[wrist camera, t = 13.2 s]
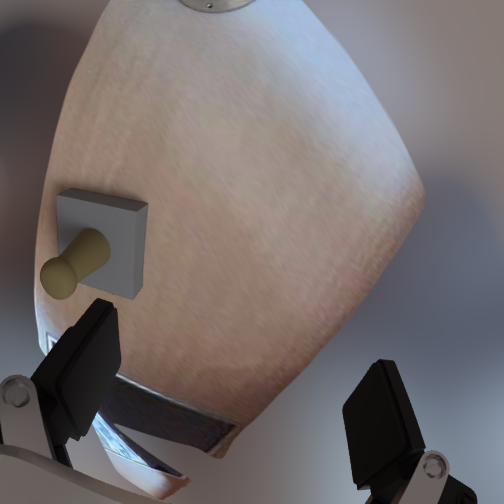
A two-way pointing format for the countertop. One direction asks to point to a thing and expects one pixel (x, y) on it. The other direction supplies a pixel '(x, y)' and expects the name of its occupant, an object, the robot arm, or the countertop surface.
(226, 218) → the countertop surface
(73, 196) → the base block
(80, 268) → the cork
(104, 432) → the countertop surface
